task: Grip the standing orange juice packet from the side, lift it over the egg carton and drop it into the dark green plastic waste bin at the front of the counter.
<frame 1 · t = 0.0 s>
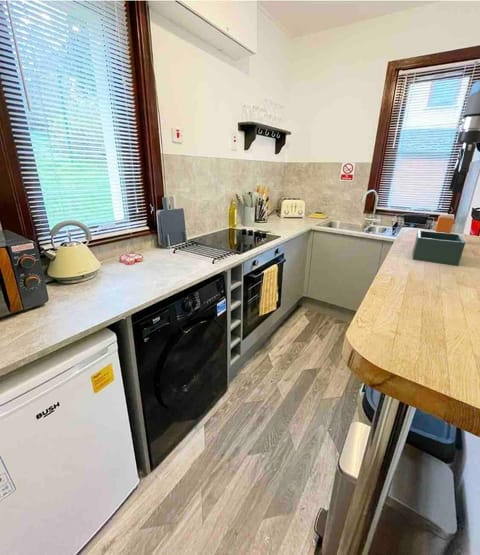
hand: (454, 191, 108), 20 cm above the breakfast bar, tool pointing down, fingers open, 13 cm apart
egg carton: (433, 248, 106), on the breakfast bar
waste bin: (433, 257, 95), on the breakfast bar
packet: (439, 241, 114), on the breakfast bar
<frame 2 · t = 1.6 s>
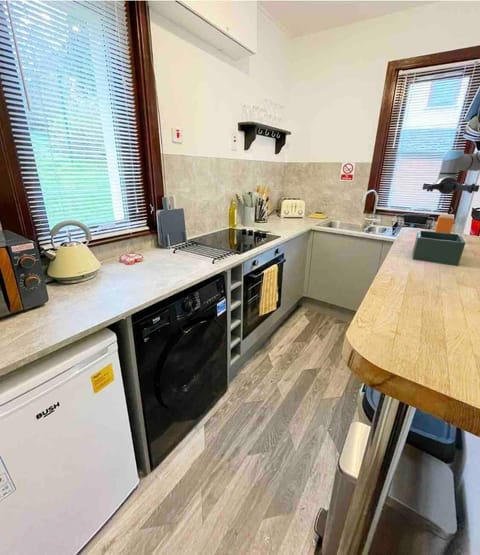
hand: (451, 189, 115), 20 cm above the breakfast bar, tool horizontal, fingers open, 13 cm apart
nothing on the breakfast bar moved.
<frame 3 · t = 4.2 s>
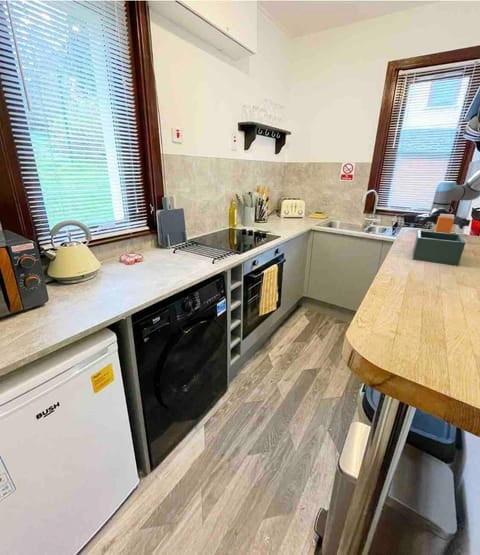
hand: (442, 224, 117), 6 cm above the breakfast bar, tool horizontal, fingers open, 13 cm apart
nothing on the breakfast bar moved.
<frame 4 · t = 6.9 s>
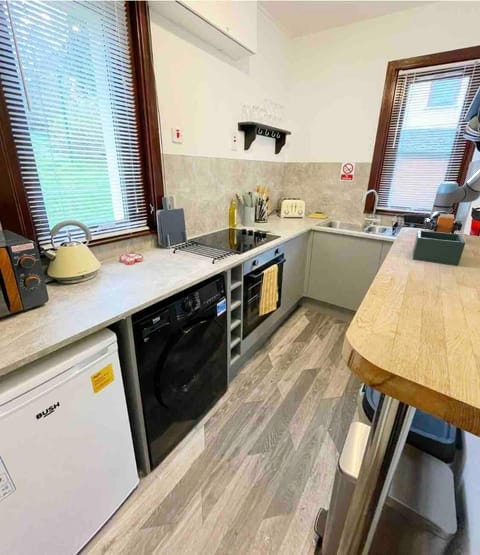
hand: (444, 229, 108), 6 cm above the breakfast bar, tool horizontal, fingers closed on packet, 5 cm apart
packet: (439, 241, 114), on the breakfast bar, touching gripper
everything else where it was.
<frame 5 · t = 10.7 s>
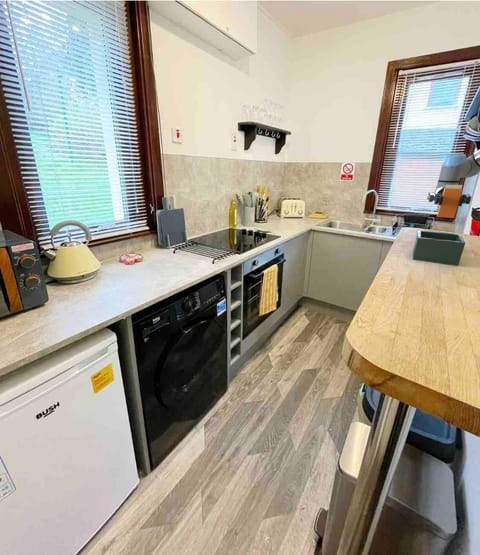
hand: (451, 201, 95), 18 cm above the breakfast bar, tool horizontal, fingers closed on packet, 5 cm apart
packet: (445, 216, 101), point 12 cm above the breakfast bar, touching gripper
everything else where it was.
when the fingers open (12 cm above the breakfast bar, at t = 14.5 s): packet drops 5 cm, resting on waste bin.
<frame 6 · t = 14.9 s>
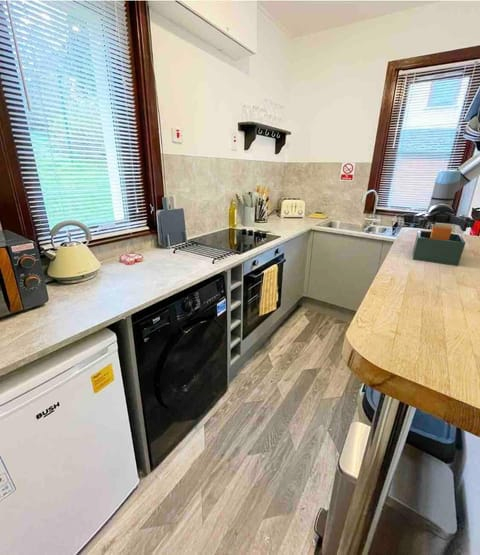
hand: (444, 225, 87), 12 cm above the breakfast bar, tool horizontal, fingers open, 10 cm apart
packet: (434, 255, 95), point 1 cm above the breakfast bar, touching waste bin
everything else where it was.
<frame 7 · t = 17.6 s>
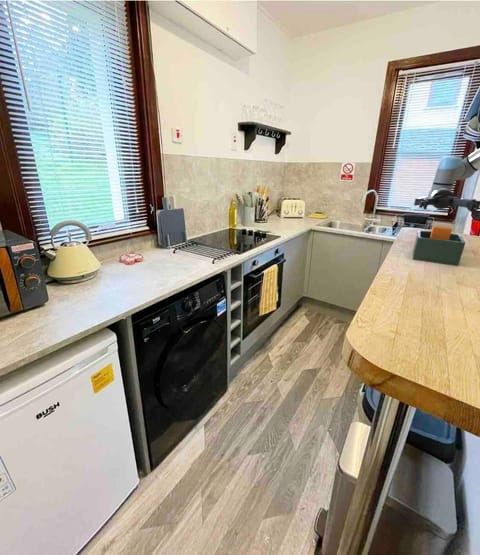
hand: (448, 206, 96), 16 cm above the breakfast bar, tool horizontal, fingers open, 13 cm apart
nothing on the breakfast bar moved.
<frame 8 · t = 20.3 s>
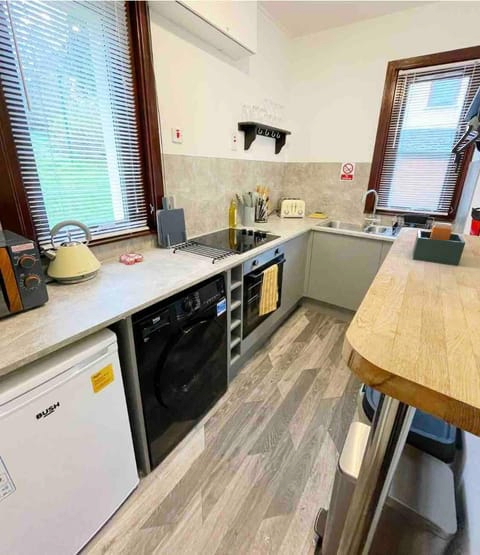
hand: (477, 173, 104), 27 cm above the breakfast bar, tool pointing down, fingers open, 13 cm apart
nothing on the breakfast bar moved.
at the end: packet inside the target area in the waste bin (0.0 cm from its centre), point 0.6 cm above the waste bin's base; the gripper is holding nothing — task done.
